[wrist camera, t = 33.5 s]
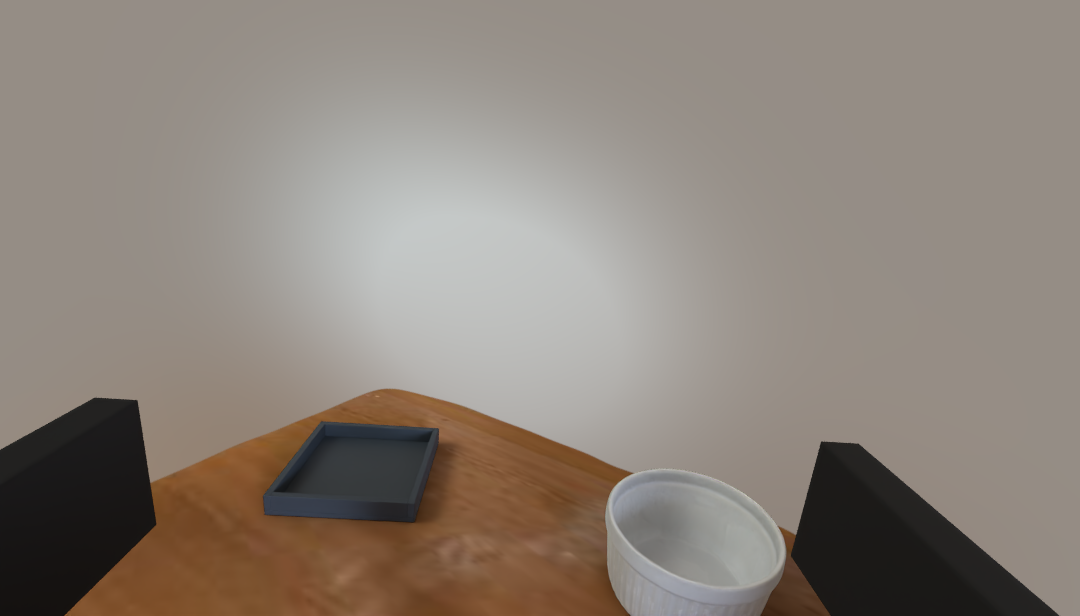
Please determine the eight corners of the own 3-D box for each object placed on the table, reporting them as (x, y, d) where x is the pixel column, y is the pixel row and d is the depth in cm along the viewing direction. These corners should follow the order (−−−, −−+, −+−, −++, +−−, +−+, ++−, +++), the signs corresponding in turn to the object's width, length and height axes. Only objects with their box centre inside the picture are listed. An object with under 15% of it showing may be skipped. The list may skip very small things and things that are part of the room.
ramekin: (801, 676, 35) (825, 594, 33) (609, 666, 34) (622, 582, 32) (729, 537, 47) (744, 472, 45) (589, 528, 47) (597, 462, 45)
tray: (264, 514, 45) (262, 495, 45) (321, 436, 58) (321, 421, 57) (414, 522, 46) (414, 503, 45) (438, 443, 58) (438, 428, 58)
